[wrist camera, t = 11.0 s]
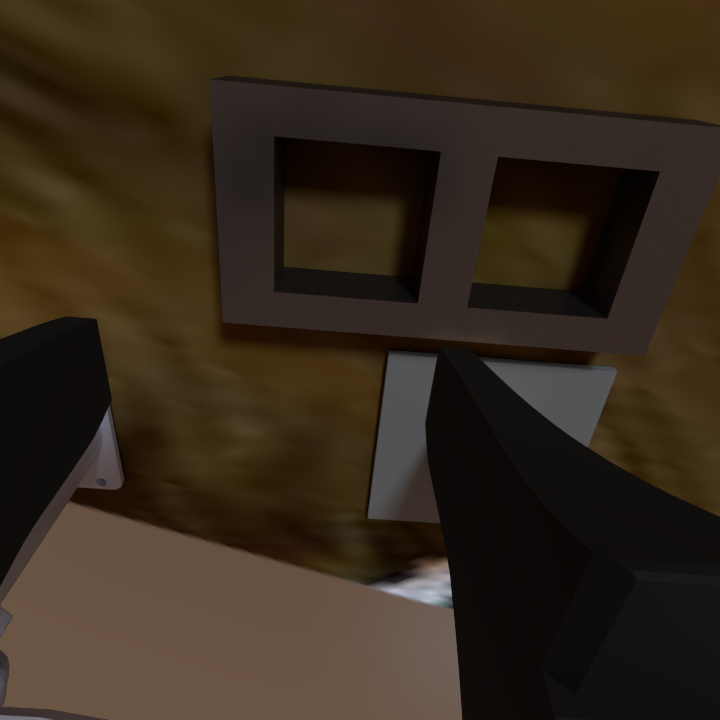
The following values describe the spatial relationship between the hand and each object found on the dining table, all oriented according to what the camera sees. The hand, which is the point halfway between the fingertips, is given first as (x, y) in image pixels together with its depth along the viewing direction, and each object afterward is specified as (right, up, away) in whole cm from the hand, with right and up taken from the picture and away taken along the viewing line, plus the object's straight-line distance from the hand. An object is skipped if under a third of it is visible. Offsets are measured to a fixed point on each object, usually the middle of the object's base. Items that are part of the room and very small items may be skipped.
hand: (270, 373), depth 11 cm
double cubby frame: (+5, +6, +9) cm, 12 cm away
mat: (+8, -4, +14) cm, 17 cm away
